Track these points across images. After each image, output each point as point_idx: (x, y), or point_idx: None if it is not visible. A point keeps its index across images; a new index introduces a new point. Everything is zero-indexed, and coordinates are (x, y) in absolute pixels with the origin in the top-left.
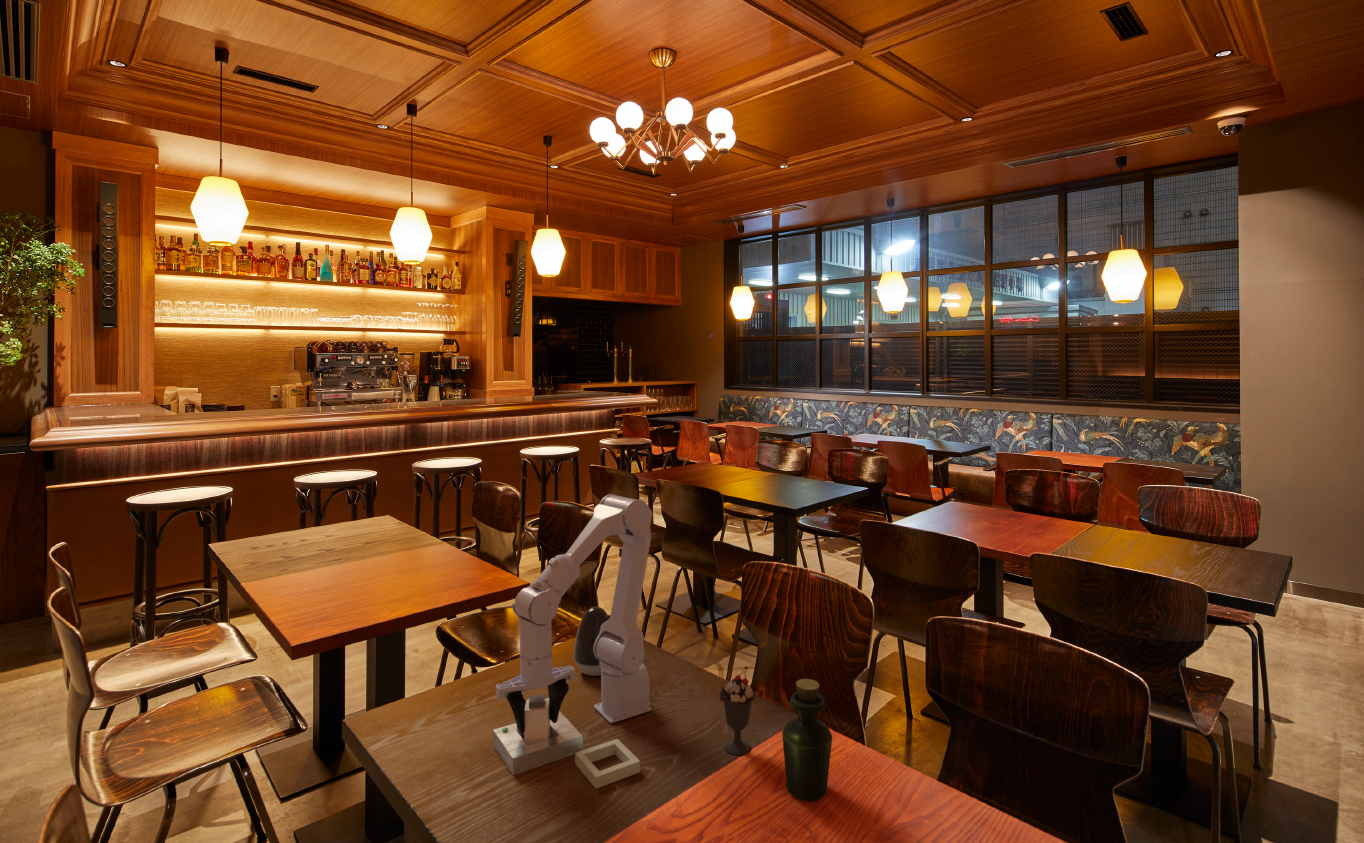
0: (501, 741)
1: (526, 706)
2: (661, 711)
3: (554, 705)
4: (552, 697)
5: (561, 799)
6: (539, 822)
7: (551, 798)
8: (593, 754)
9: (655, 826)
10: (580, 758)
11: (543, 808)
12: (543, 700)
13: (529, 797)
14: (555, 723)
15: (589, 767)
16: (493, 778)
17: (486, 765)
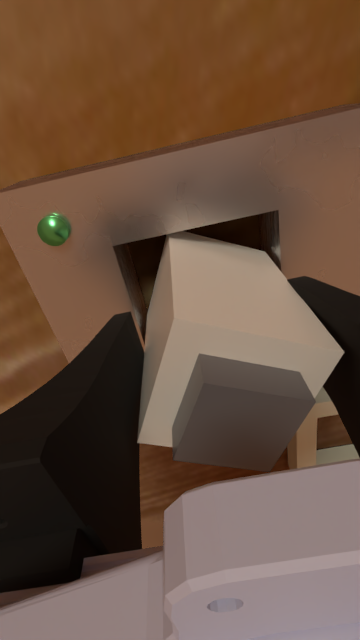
0: (46, 316)
1: (158, 409)
2: None
3: (335, 390)
4: (358, 395)
5: (209, 472)
6: (154, 506)
7: (189, 466)
8: None
9: None
10: (298, 431)
11: (168, 483)
12: (276, 459)
13: (143, 454)
14: (307, 251)
15: (301, 463)
16: (48, 376)
17: (14, 310)
